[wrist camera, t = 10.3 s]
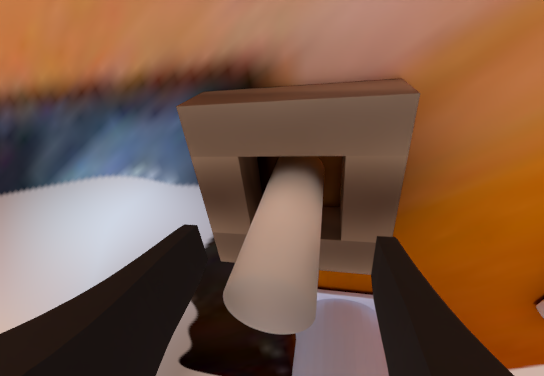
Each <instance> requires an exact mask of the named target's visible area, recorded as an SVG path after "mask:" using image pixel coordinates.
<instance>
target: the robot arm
mask: <svg viewBox="0 0 544 376" xmlns="http://www.w3.org/2000/svg"><path fill="white" fill-rule="evenodd" d="M207 261H208V258H207V255H206V251H205V248H204V245H203V242H202V239H201V236H200V233H199V230H198V227H197V225H183V226H182V227H180V228H178V229H177V230H175V231H174V232H173V233H171V234H170V235H169V236H167V237H166V238H164V239H163V240H162V241H160V242H159V243H158V244H156V245H155V246H154V247H152V248H151V249H149V250H148V251H147V252H145V253H144V254H142V255H141V256H140V257H138V258H137V259H135V260H134V261H132V262H131V263H130V264H128V265H127V266H125V267H124V268H122V269H121V270H119V271H118V272H116V273H115V274H113V275H112V276H110V277H109V278H107V279H106V280H104V281H102V282H101V283H99V284H97V285H96V286H94V287H92V288H90V289H89V290H87V291H85V292H84V293H82V294H80V295H78V296H77V297H75V298H73V299H71V300H69V301H67V302H65V303H64V304H61V305H59V306H58V307H56V308H54V309H52V310H50V311H48V312H46V313H44V314H42V315H40V316H38V317H36V318H34V319H32V320H30V321H28V322H25V323H23V324H21V325H19V326H17V327H15V328H12V329H10V330H8V331H6V332H3V333H1V334H0V376H155V375H156V373H157V371H158V368H159V366H160V363H161V361H162V358H163V356H164V353H165V351H166V349H167V346H168V344H169V342H170V340H171V337H172V335H173V333H174V331H175V329H176V327H177V325H178V323H179V321H180V320H181V318H182V316H183V314H184V312H185V310H186V308H187V306H188V304H189V302H190V300H191V299H192V297H193V295H194V293H195V291H196V289H197V287H198V285H199V283H200V280H201V278H202V275H203V273H204V270H205V267H206V264H207ZM371 278H372V289H373V295H369V294H360V293H350V292H341V291H331V290H322V289H317V305H316V318H315V321H314V322H313V324H312V325H311V326H310V327H309V328H307V329H306V330H304V331H301V332H298V333H296V346H295V354H294V363H293V371H292V376H514V375H513V374H512V373H511V372H510V371H509V370H508V369H507V368H506V367H505V366H504V365H503V364H502V363H501V362H500V361H499V360H497V359H496V358H495V357H494V356H493V355H492V354H491V353H490V352H489V351H488V350H487V348H486V347H485V346H484V345H483V344H482V343H481V342H480V341H479V340H478V339H477V338H476V337H475V336H474V335H473V334H472V333H471V332H470V331H469V330H468V329H467V327H466V326H465V325H464V324H463V323H462V322H461V321H460V320H459V319H458V317H457V316H456V315H455V314H454V313H453V312H452V311H451V309H450V308H449V307H448V306H447V305H446V304H445V302H444V301H443V300H442V299H441V298H440V296H439V295H438V294H437V293H436V292H435V290H434V289H433V288H432V286H431V285H430V284H429V283H428V281H427V280H426V279H425V278H424V276H423V275H422V274H421V272H420V271H419V270H418V268H417V267H416V266H415V264H414V263H413V261H412V260H411V259H410V257H409V256H408V254H407V253H406V251H405V250H404V248H403V247H402V245H401V244H400V242H399V241H398V239H396V238H395V237H386V236H377V239H376V245H375V252H374V259H373V265H372V272H371Z"/></svg>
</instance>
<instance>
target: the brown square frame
mask: <svg viewBox="0 0 544 376" xmlns="http://www.w3.org/2000/svg"><path fill="white" fill-rule="evenodd" d="M419 97H420V93H419V92H418V91H417V90H416V89H414V88H413V87H412V86H411V85H409V84H408V83H407V82H406V81H404V80H403V79H389V80H374V81H358V82H343V83H328V84H313V85H298V86H283V87H268V88H253V89H238V90H223V91H208V92H202V93H201V94H199V95H197V96H195V97H193V98H191V99H189V100H187V101H186V102H184V103H182V104H180V105H178V106H176V107H177V111H178V114H179V118H180V121H181V125H182V128H183V132H184V135H185V139H186V142H187V145H188V149H189V152H190V156H191V159H192V163H193V166H194V170H195V173H196V176H197V180H198V183H199V187H200V190H201V193H202V197H203V201H204V204H205V207H206V211H207V214H208V218H209V221H210V224H211V228H212V232H213V235H214V239H215V242H216V246H217V249H218V252H219V256H220V259H221V261H225V262H236V260H237V258H238V255H239V253H240V250H241V248H242V245H243V243H244V240H245V238H246V235H247V233H248V231H249V228H250V226H251V223H252V221H253V218H254V216H255V213H256V211H257V209H258V206H259V204H260V201H261V199H262V196H263V195H262V188H261V181H260V174H259V167H258V160H257V156H342V175H341V196H340V208H339V207H322V222H321V238H320V255H319V270H325V271H336V272H347V273H358V274H369V275H371V272H372V265H373V259H374V252H375V245H376V239H377V236H386V237H392V236H393V231H394V225H395V220H396V215H397V210H398V205H399V200H400V195H401V189H402V184H403V179H404V174H405V169H406V164H407V158H408V153H409V148H410V143H411V138H412V133H413V128H414V122H415V117H416V112H417V107H418V102H419Z"/></svg>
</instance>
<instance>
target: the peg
mask: <svg viewBox="0 0 544 376" xmlns="http://www.w3.org/2000/svg"><path fill="white" fill-rule="evenodd" d="M323 188H324V166H323V163H322V161H321V160H320V158H319V157H318V156H280V157H279V158H278V160H277V162H276V164H275V167H274V169H273V172H272V174H271V177H270V179H269V182H268V184H267V186H266V189H265V191H264V194H263V196H262V199H261V201H260V204H259V206H258V209H257V211H256V213H255V216H254V218H253V221H252V223H251V226H250V228H249V231H248V233H247V235H246V238H245V240H244V243H243V245H242V248H241V250H240V253H239V255H238V258H237V260H236V262H235V265H234V267H233V270H232V272H231V275H230V277H229V280H228V282H227V284H226V287H225V289H224V292H223V300H224V303H225V306H226V307H227V309H228V310H229V312H230V313H231V314H232V315H233V316H234V317H235V318H237V319H238V320H239V321H241V322H242V323H244V324H246V325H248V326H250V327H252V328H254V329H257V330H260V331H263V332H267V333H272V334H294V333H298V332H301V331H304V330H306V329H307V328H309V327H310V326H311V325H312V324H313V322H314V321H315V318H316V305H317V288H318V271H319V255H320V238H321V222H322V205H323Z"/></svg>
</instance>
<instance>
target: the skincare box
mask: <svg viewBox="0 0 544 376" xmlns="http://www.w3.org/2000/svg"><path fill="white" fill-rule="evenodd" d="M536 308H537V310H538V311H539V313H540V314H541V315H542V317H543V318H544V300H542V301H541V302H540V303H539V304H537V305H536Z"/></svg>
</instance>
